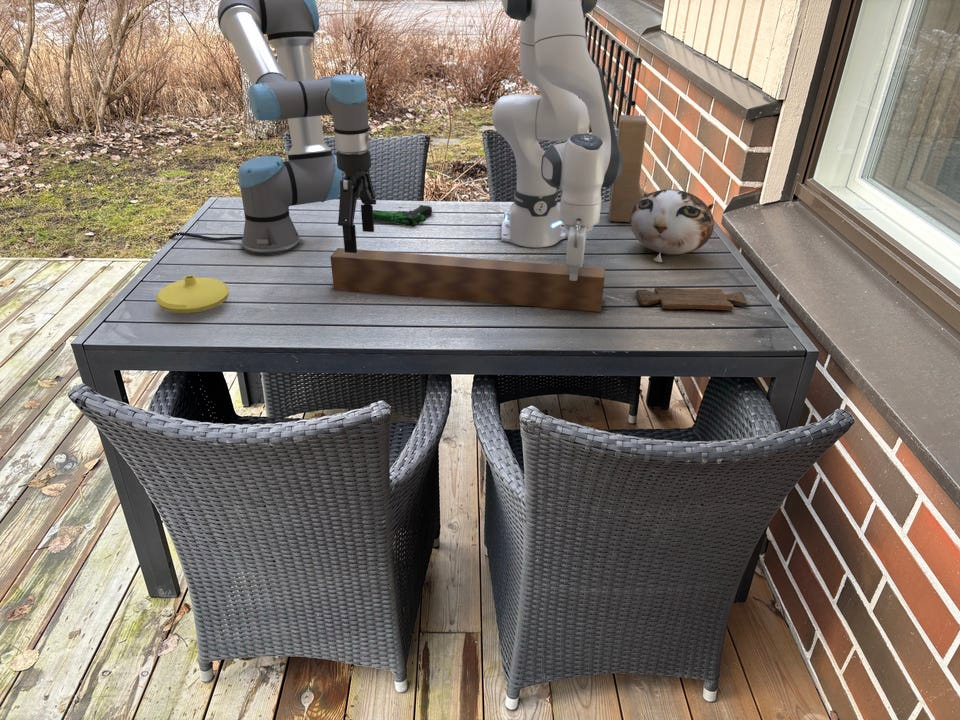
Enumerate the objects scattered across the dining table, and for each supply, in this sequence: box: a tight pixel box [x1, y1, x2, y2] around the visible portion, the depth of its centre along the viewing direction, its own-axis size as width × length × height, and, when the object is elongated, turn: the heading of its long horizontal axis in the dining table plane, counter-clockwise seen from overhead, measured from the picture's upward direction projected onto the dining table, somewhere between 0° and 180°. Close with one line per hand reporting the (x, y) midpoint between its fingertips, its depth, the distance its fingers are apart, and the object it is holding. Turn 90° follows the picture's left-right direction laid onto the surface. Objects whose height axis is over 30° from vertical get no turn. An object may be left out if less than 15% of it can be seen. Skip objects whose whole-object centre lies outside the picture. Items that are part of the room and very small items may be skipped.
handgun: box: [373, 204, 433, 227], centre depth 216 cm, size 16×3×15 cm
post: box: [329, 247, 606, 313], centre depth 169 cm, size 64×5×9 cm, turn 81°
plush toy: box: [629, 188, 715, 263], centre depth 192 cm, size 22×18×20 cm
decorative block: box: [608, 114, 651, 223], centre depth 211 cm, size 8×15×30 cm, turn 82°
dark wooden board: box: [635, 287, 748, 311], centre depth 169 cm, size 26×2×10 cm
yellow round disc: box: [155, 274, 230, 315], centre depth 163 cm, size 16×16×7 cm
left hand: (360, 241), depth 169 cm, fingers open, 13 cm apart
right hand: (574, 271), depth 163 cm, fingers open, 8 cm apart
